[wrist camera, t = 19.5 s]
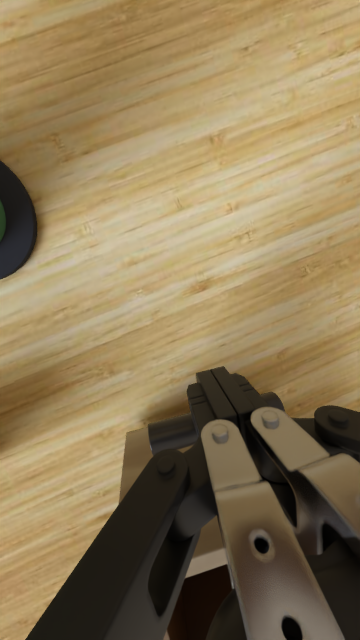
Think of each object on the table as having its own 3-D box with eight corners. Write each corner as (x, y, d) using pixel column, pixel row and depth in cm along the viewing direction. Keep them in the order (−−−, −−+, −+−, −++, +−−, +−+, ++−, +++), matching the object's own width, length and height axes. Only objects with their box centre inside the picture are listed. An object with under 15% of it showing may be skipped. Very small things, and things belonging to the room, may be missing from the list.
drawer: (110, 379, 16) (73, 503, 8) (264, 343, 18) (375, 416, 9) (162, 555, 22) (174, 739, 13) (277, 517, 23) (353, 663, 15)
